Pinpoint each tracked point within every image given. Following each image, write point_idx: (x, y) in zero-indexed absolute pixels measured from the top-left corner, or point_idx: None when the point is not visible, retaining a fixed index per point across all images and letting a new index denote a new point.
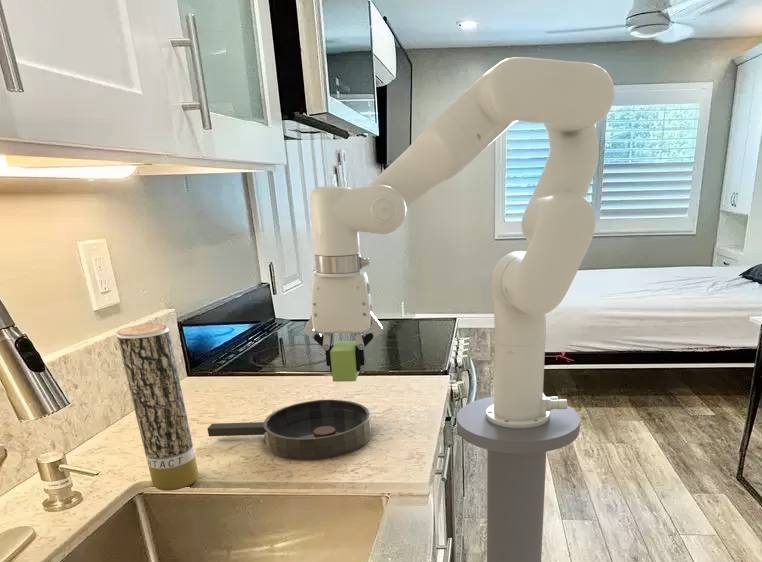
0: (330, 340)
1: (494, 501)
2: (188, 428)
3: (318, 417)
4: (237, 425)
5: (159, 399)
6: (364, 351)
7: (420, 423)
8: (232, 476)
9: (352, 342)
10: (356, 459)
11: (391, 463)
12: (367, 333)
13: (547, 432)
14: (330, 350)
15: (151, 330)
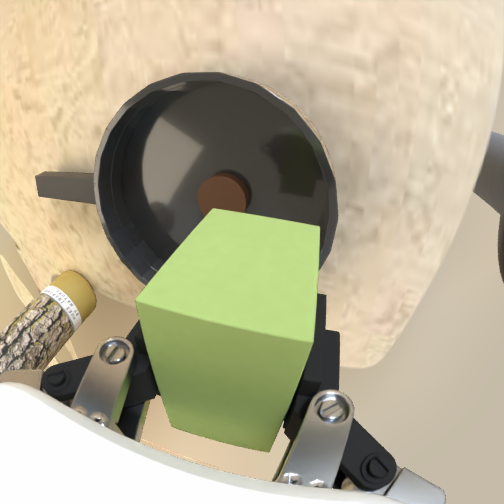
0: (139, 425)
1: (483, 189)
2: (55, 336)
3: (195, 84)
4: (64, 190)
5: None
6: (337, 381)
7: (454, 173)
8: (125, 295)
9: (261, 367)
10: None
11: (350, 328)
12: (352, 487)
13: None
14: (160, 395)
15: None
